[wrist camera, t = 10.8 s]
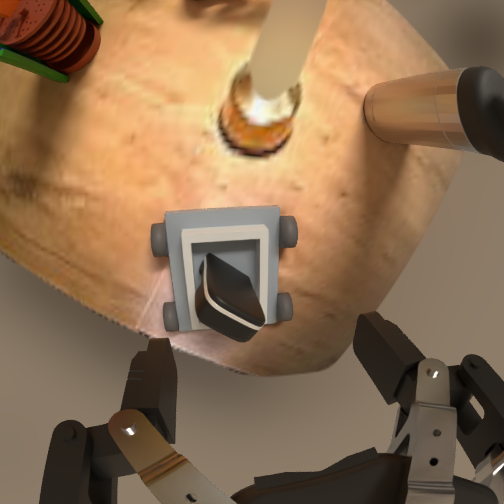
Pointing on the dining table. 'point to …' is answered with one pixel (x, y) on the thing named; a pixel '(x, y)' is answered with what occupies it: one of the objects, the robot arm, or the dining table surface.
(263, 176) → the dining table surface
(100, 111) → the dining table surface
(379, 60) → the dining table surface
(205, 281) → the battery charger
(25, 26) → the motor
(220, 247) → the chassis
